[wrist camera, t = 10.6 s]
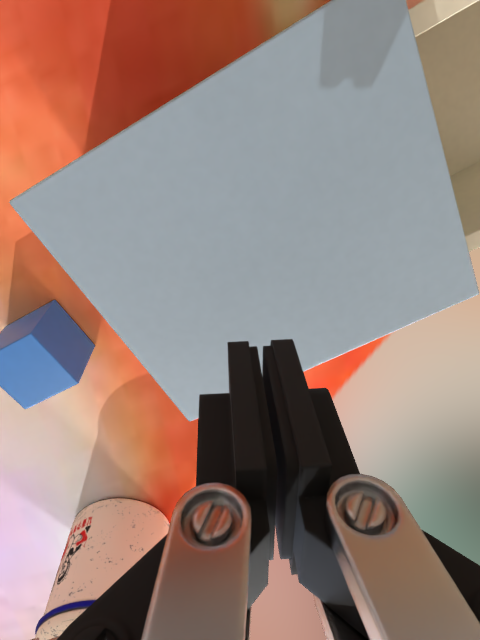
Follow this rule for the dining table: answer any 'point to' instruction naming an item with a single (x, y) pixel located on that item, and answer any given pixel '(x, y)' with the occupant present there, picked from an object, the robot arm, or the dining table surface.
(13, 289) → the dining table surface
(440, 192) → the grey drawer cabinet
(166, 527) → the teacup with lid
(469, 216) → the drawer
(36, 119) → the dining table surface
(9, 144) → the dining table surface
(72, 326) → the blue wooden cube
